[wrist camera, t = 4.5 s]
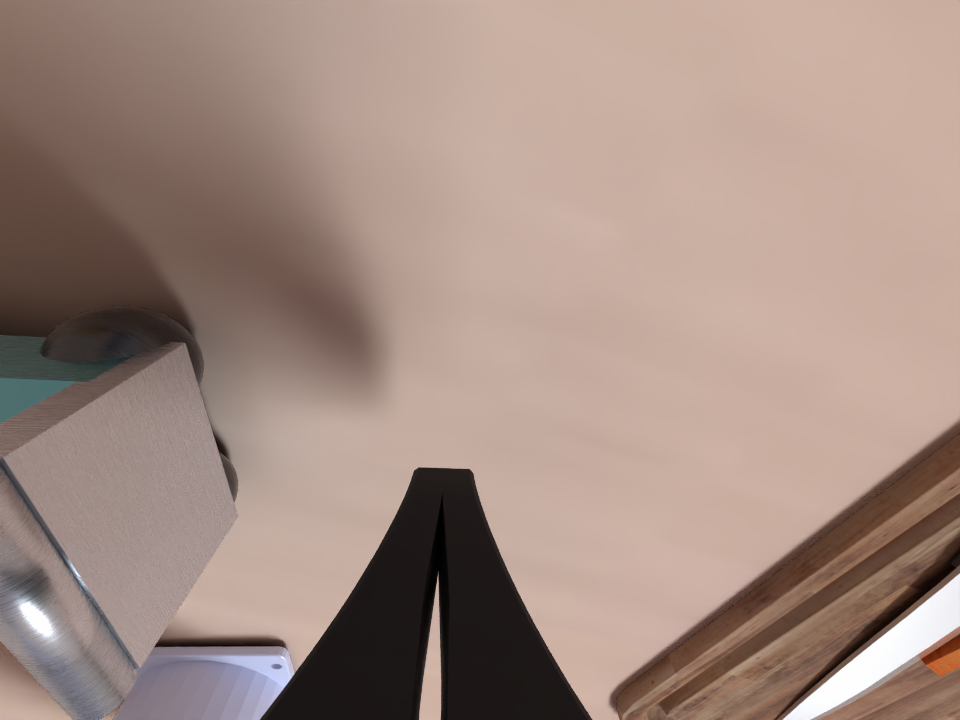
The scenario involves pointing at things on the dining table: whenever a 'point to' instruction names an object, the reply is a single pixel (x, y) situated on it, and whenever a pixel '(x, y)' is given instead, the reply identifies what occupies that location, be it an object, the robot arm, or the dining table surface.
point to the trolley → (103, 498)
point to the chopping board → (836, 623)
